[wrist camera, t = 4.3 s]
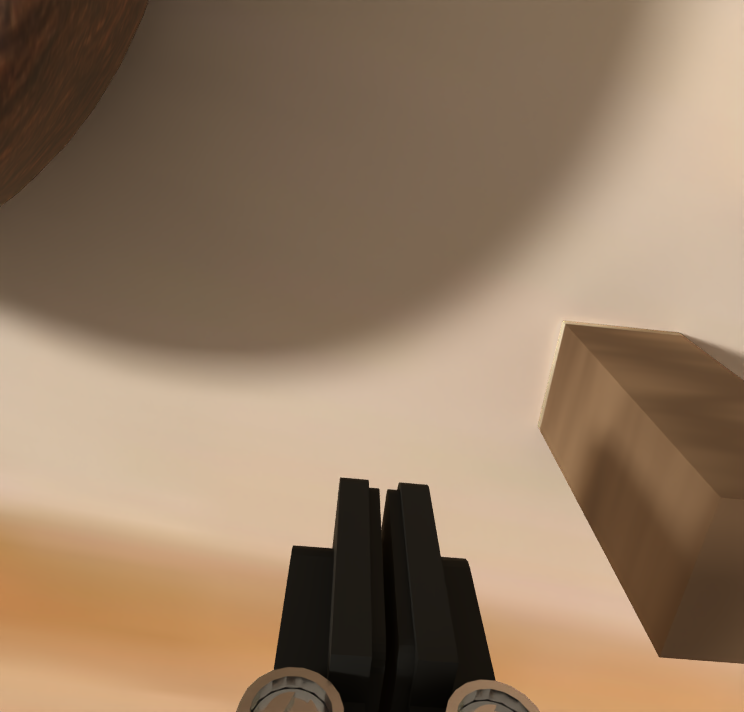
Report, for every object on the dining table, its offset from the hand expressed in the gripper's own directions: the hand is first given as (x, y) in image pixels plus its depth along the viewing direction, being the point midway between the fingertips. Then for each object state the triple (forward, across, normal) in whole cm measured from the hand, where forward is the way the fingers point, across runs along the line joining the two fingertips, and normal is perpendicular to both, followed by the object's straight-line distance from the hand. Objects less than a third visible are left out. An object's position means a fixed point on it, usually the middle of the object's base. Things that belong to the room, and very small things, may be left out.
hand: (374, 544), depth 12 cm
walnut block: (+10, -8, 0) cm, 13 cm away
